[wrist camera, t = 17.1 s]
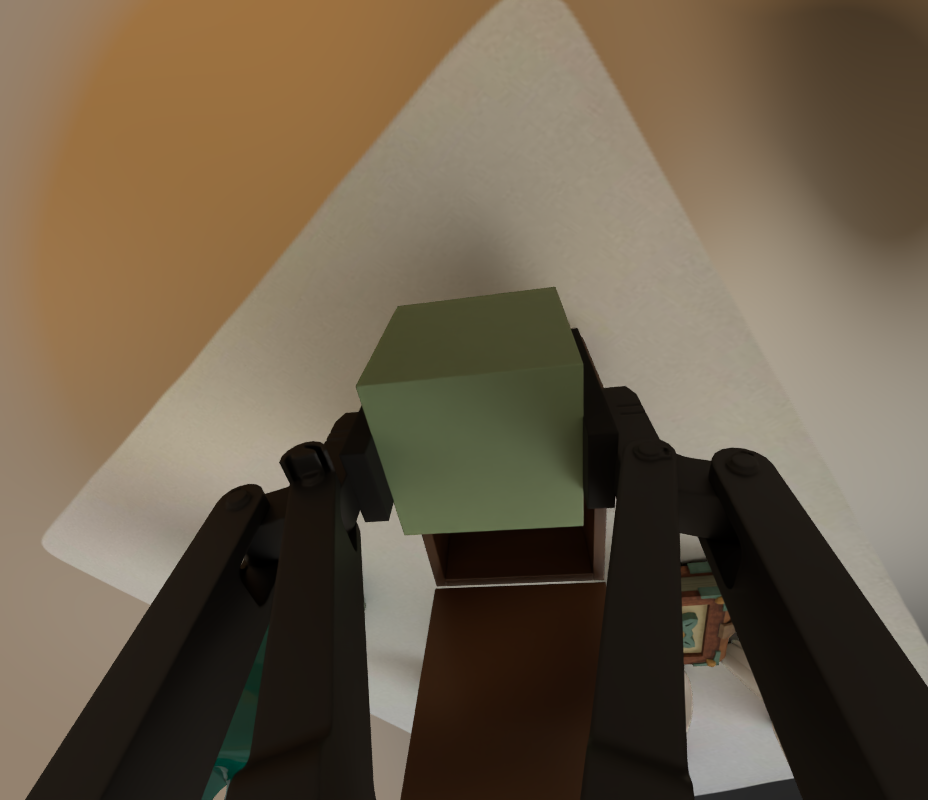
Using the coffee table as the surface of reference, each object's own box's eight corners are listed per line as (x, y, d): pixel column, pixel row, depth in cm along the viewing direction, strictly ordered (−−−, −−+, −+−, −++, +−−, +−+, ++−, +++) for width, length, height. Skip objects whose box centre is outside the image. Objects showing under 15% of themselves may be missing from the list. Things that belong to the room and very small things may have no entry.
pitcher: (351, 563, 47) (256, 853, 28) (370, 609, 51) (300, 886, 32) (266, 567, 48) (122, 847, 29) (292, 611, 52) (181, 879, 34)
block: (397, 305, 17) (355, 386, 12) (555, 286, 16) (583, 363, 11) (427, 430, 20) (404, 535, 15) (560, 419, 19) (583, 526, 14)
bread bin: (412, 355, 33) (388, 423, 25) (582, 337, 31) (610, 403, 24) (446, 502, 41) (436, 586, 33) (583, 494, 39) (604, 580, 32)
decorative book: (734, 522, 40) (762, 569, 36) (717, 628, 49) (738, 675, 45) (587, 536, 42) (597, 582, 38) (597, 635, 51) (606, 681, 47)
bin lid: (381, 913, 18) (407, 963, 20) (701, 932, 16) (689, 984, 19) (435, 588, 33) (446, 639, 35) (605, 581, 31) (605, 635, 34)
